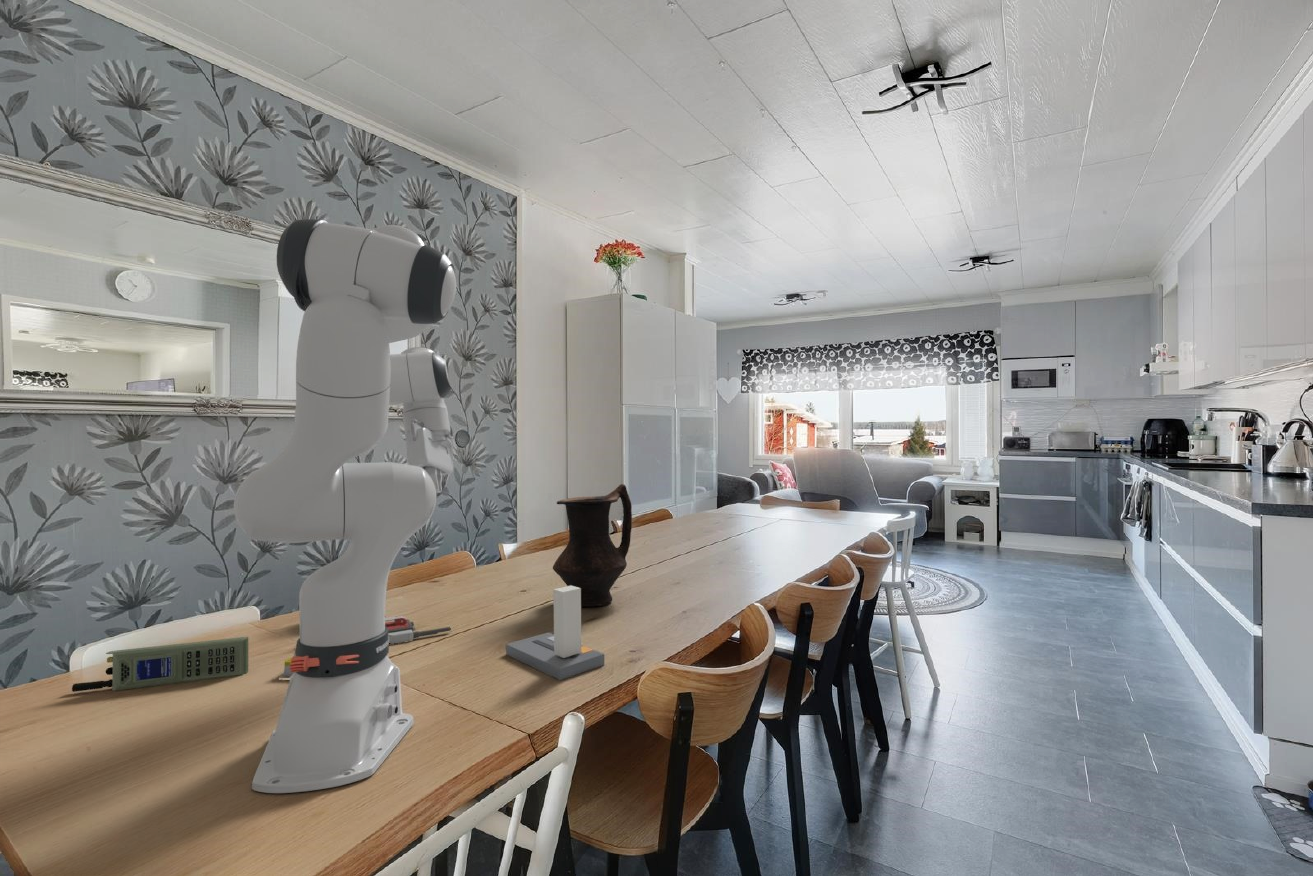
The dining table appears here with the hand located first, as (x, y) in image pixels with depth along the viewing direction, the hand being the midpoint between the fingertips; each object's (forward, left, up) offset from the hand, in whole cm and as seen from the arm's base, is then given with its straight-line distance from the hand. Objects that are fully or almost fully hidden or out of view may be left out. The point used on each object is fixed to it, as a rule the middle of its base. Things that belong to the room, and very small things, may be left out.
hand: (435, 492), depth 124 cm
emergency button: (-6, +19, -32) cm, 38 cm away
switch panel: (-13, -23, -31) cm, 41 cm away
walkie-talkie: (+8, +9, -32) cm, 34 cm away
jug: (+25, -35, -32) cm, 53 cm away
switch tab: (-17, -25, -29) cm, 42 cm away
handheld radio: (-8, +44, -32) cm, 55 cm away
